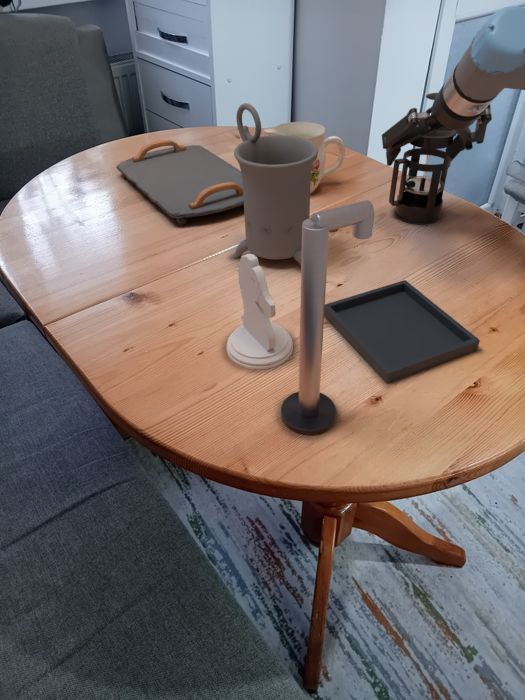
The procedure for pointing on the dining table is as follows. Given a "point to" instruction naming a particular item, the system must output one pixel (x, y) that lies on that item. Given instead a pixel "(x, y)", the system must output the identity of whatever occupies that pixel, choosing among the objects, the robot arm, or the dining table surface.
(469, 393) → the dining table surface
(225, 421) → the dining table surface
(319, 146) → the pitcher
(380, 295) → the drip tray
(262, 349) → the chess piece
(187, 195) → the serving tray
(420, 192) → the french press
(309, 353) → the tap
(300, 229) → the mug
